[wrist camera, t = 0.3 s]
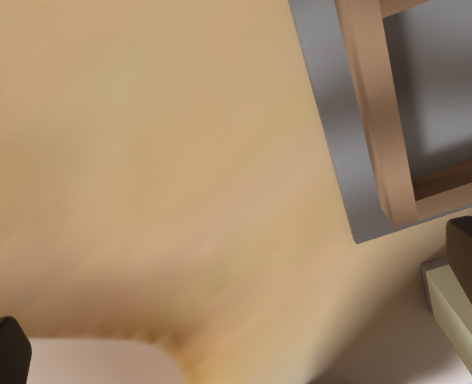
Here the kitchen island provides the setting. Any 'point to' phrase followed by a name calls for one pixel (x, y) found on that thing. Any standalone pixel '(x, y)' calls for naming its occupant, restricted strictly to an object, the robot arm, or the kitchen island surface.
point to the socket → (393, 105)
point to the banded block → (449, 306)
